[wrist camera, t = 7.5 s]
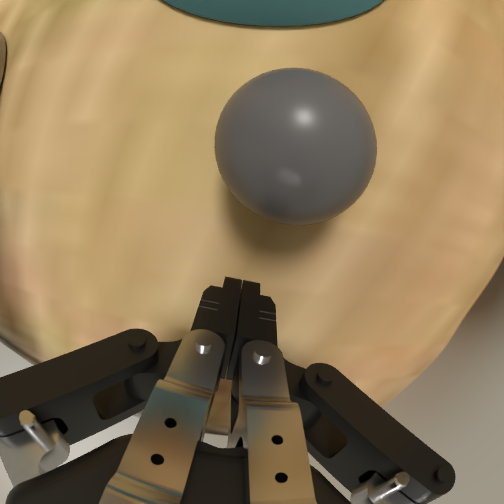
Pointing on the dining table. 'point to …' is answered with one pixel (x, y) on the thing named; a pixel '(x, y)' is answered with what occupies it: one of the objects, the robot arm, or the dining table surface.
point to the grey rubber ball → (295, 146)
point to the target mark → (275, 10)
